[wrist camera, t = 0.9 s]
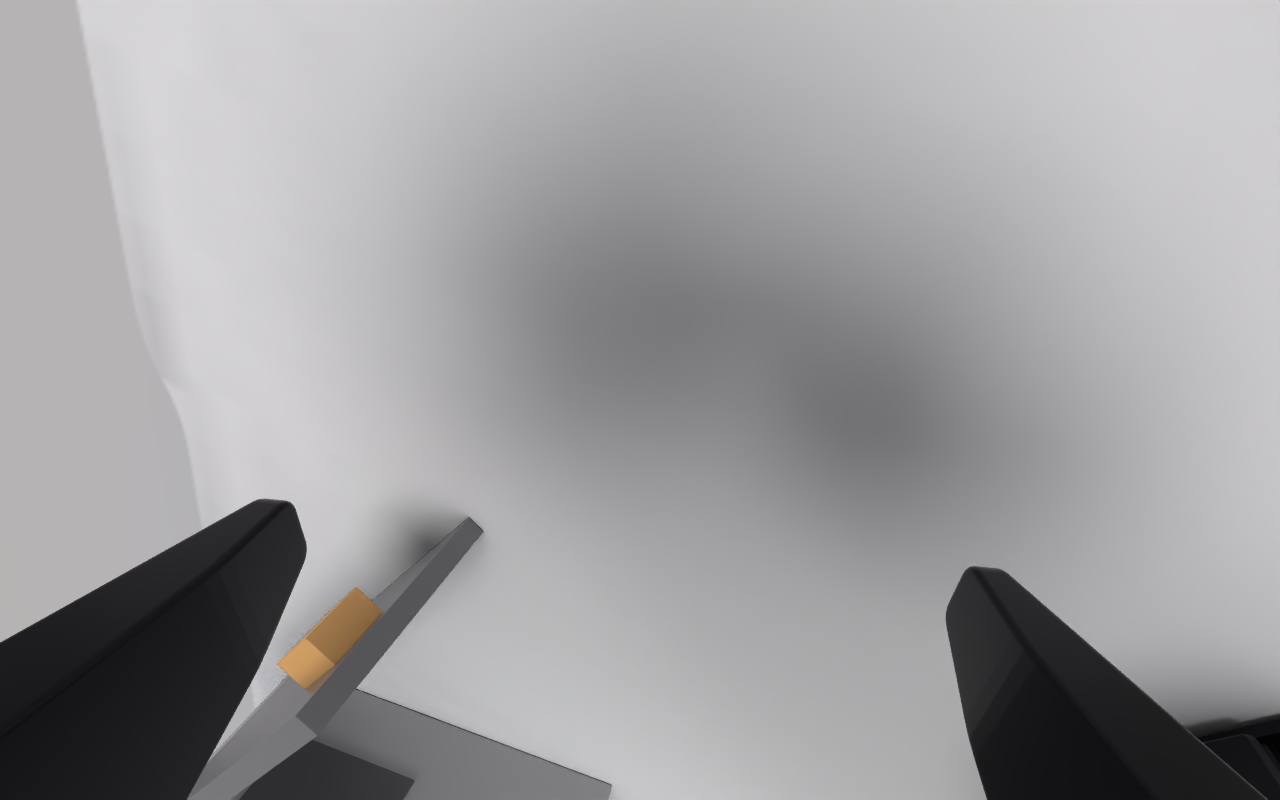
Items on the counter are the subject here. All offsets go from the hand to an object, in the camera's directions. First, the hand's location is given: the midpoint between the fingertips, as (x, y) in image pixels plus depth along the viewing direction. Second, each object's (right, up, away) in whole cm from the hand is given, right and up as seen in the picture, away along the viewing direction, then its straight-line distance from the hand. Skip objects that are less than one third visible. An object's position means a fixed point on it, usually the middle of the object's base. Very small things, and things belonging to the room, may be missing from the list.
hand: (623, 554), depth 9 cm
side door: (-12, -7, +20) cm, 24 cm away
